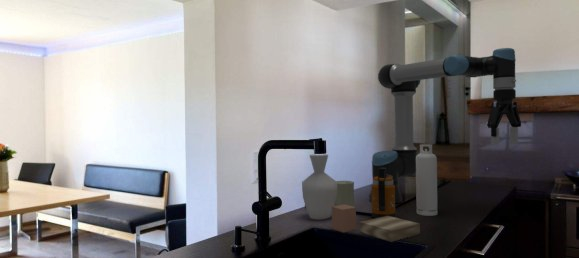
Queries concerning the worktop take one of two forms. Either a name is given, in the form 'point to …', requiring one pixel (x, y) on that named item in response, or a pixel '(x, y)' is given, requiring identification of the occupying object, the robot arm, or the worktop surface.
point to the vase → (319, 190)
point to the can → (345, 193)
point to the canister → (383, 195)
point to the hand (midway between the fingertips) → (504, 144)
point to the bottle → (426, 182)
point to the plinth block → (390, 228)
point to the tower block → (344, 218)
